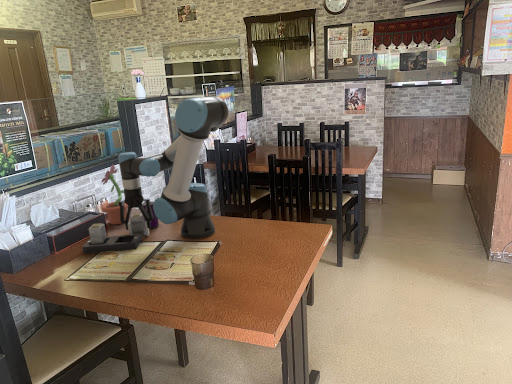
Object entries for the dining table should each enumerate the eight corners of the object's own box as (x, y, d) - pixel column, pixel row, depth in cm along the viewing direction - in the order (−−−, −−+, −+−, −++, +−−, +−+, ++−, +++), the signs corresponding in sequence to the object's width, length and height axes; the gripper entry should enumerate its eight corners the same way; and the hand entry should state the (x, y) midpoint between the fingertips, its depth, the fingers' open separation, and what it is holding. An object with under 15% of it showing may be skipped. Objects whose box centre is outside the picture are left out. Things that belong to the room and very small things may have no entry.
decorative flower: (113, 217, 210) (103, 162, 202) (137, 216, 208) (128, 161, 200) (99, 227, 195) (88, 168, 187) (125, 226, 194) (115, 167, 186)
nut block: (146, 233, 182) (143, 211, 179) (144, 237, 177) (140, 215, 174) (135, 234, 182) (132, 212, 179) (133, 238, 177) (129, 216, 174)
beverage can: (162, 225, 192) (158, 201, 189) (151, 230, 186) (147, 206, 183) (151, 223, 196) (148, 200, 192) (141, 228, 190) (137, 204, 187)
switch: (141, 240, 174) (138, 217, 172) (136, 249, 165) (132, 225, 162) (91, 244, 174) (87, 221, 171) (83, 253, 164) (78, 230, 161)
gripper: (156, 183, 177) (163, 230, 184) (111, 186, 177) (120, 234, 183) (153, 187, 170) (160, 236, 176) (106, 191, 170) (115, 240, 176)
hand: (139, 235), depth 180 cm, fingers open, 7 cm apart
